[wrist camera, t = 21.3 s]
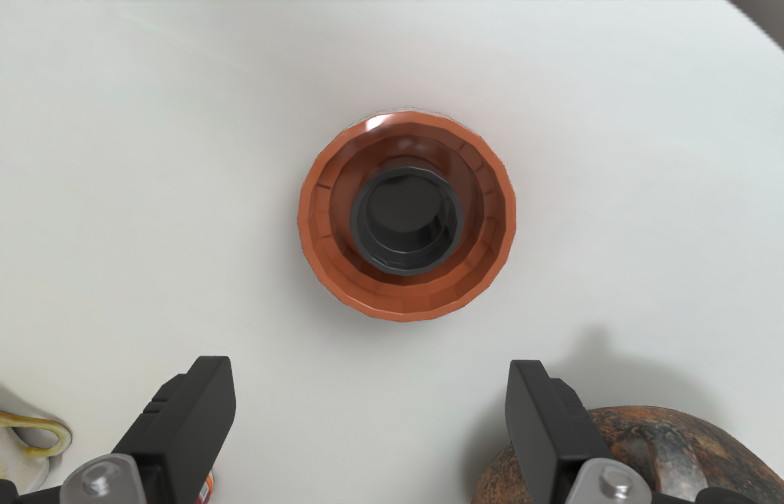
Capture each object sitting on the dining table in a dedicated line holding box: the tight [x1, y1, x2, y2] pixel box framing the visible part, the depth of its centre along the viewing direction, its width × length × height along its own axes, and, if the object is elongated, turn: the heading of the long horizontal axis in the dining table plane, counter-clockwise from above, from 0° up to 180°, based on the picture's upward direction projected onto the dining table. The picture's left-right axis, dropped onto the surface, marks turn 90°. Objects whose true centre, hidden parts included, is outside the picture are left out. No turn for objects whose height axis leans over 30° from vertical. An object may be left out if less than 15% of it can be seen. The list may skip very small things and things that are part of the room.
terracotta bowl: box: [297, 107, 516, 322], centre depth 27 cm, size 12×12×5 cm
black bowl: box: [349, 156, 464, 277], centre depth 27 cm, size 6×6×4 cm
